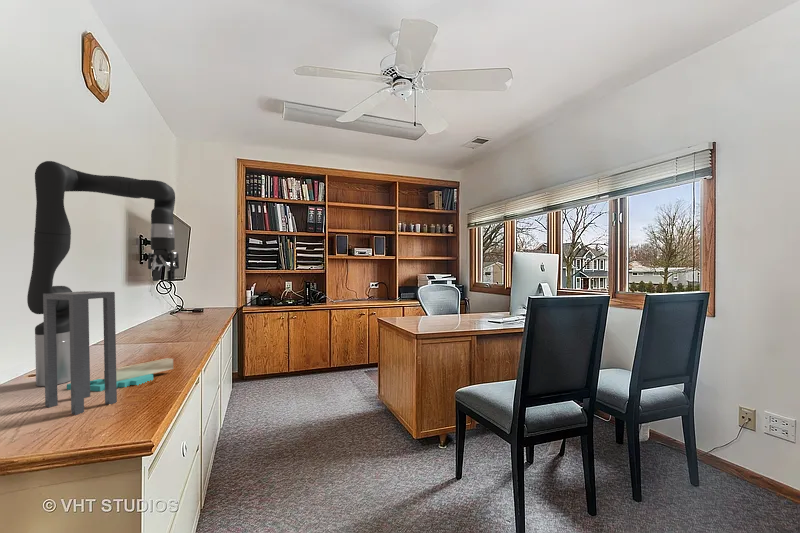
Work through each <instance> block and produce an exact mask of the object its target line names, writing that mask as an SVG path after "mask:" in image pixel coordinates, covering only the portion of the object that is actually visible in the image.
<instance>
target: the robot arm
mask: <svg viewBox="0 0 800 533" xmlns="http://www.w3.org/2000/svg"><path fill="white" fill-rule="evenodd" d="M34 183H35V184H34V185H35V196H36V197H35V198H36V199H35V200H36V208H35V222H34V223H35V224H34V234H33V256H32V270H31V275H30V280H29V285H28V290H27V295H26V297H27V298H26V300H27V307H28V309H29V310H30V311H31V313H33V314H36V315H43V294H47V293H64V292H73V291H72V289H71V288H70V287H69V286H66V285H53V284H54V283H53V282H54V276H55V273H56V271H57V269H58V268H59V266H60V265H61V263H62V262H63V261H64V260H65V258H66V257H67V255H68V254H69V251H70V249H71V244H72V243H71V242H72V229H71V224H70V221H69V219H68V216H67V213H66V210H65V203H64V202H65V192H66V193H67V192H89V193H100V194H104V195H105V194H106V195H110V196H111V195H112V196H116V197H117V196H118V197H124V198H131V199H142V198H143V199H149V200H154V201H153V202H154V203H153V205H154V206H153V209H152V210H151V212H150V220H151V221H150V223H151V224H150V249H151V251H153V253H152V252H150V253H147V269H148V270H150V271H151V272H152V281H153V282H159V281H161V279H160V278H161V276H160V275H161V274H160V273H161V272H160V270H161V268H162V267H165V269H167V271H166V276H167V277H166V278H167V279H166V280H167V281H166V282H175V280H176V279H175V278H176V277H175V275H176V274H175V271H176V270H179V268H180V262H179V260H180V259H179V253H178V251H177V252H176V251H174V250H175V249H176V245H175V244H176V243H175V242H176V240H175V238H176V237H175V235H176V234H175V232H176V231H175V227H174V226H175V225H174V223H175V222H174V219H175V218H174V210H175V204H176V193H175V189H174V188H173V187H172V186H171V185H169V184H168V183H166V182H164V181H161V180H154V179H139V178H133V177H127V176H121V175H120V176H119V175H101V174H98V175H97V174H92V173H87V172H83V171H80V170H76V169H75V168H74V169H73V168H70V166H67V165H64V164H62V163H59V162H57V161H52V160H46V161H42V162H41V163H40V164H38V166H36V169H35V172H34ZM34 335H35V336H34V341H35V342H34V344H35V346H34V347H35V386H36V387H45V365H44V321H42V322H40V323H39V324H36V326H35V327H34ZM56 345H57V385H61V384H65V383H68V382H71V374H70V323H69V300H56Z"/></svg>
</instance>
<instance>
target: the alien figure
mask: <svg viewBox="0 0 800 533" xmlns="http://www.w3.org/2000/svg"><path fill="white" fill-rule="evenodd" d="M150 380H151V381H154V373H152V374H148V375H143V376H139V377H134V378H130V379H125V380H121V381H116V383H117V389H118V387H119V388H123V387H125V388H127V386H128V387H131V386H130V385H137V386H140V385H143V384H146V383H148V382H147V381H149V382H151V381H150ZM145 382H146V383H145ZM142 383H143V384H142ZM139 384H140V385H139ZM66 390H70V391H71V382H70V383H67V384H66ZM102 391H105V382H104V378H103V379H102V378H97V379H93V380H90V392H102Z"/></svg>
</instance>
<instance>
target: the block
mask: <svg viewBox="0 0 800 533" xmlns="http://www.w3.org/2000/svg"><path fill="white" fill-rule="evenodd" d="M169 370H174V358H171V357H166V358H162V359H156V360H151V361H147V362H142V363H136V364H132V365H126V366H122V367H116V381H121V380H125V379H130V378H134V377H139V376H143V375H148V374H152V373H153V374H157V373H161V372H165V371H169ZM103 373H104V374H103V375H104V376H103V379H104V382H105V371H104V370H103Z"/></svg>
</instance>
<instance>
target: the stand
mask: <svg viewBox="0 0 800 533" xmlns="http://www.w3.org/2000/svg"><path fill="white" fill-rule="evenodd" d="M115 294H116V293H115V291H93V290H92V291H90V290H89V291H85V290H82V291H72V292H64V293H47V294H43V314H42V315H43V322H44V365H45V386H44V396H45V397H44V404H45V405H44V407H46V408H52V407H57V406H58V404H59V402H58V398H59V397H58V384H57V345H56V300H69V323H70V374H71V381H70V383H71V390H70V406H71V407H70V409H71V410H70V412H71V413H70V414H71V415H74V416H76V415H80V413H81V414H83V412H84V413H85V398H89V397H91V391H90V381H91V365H90V364H91V363H90V362H91V361H90V360H91V359H90V317H89V316H90V315H89V314H90V313H89V312H90V311H89V310H90V308H89V300H95V299H102V309H103V310H102V311H103V313H102V314H103V316H102V318H103V319H102V320H103V356H104V357H103V359H104V360H103V364H104V366H103V367H104V370H103V372H104V371H105V390H104V404H105V405H107V404H111V405H113V403H114V404H117V403H118V395H117V393H118V391H117V389H118V388H117V383H116V368H117V349H116V348H117V343H116V340H117V337H116V336H117V335H116V332H117V331H116V295H115ZM116 402H117V403H116Z"/></svg>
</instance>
